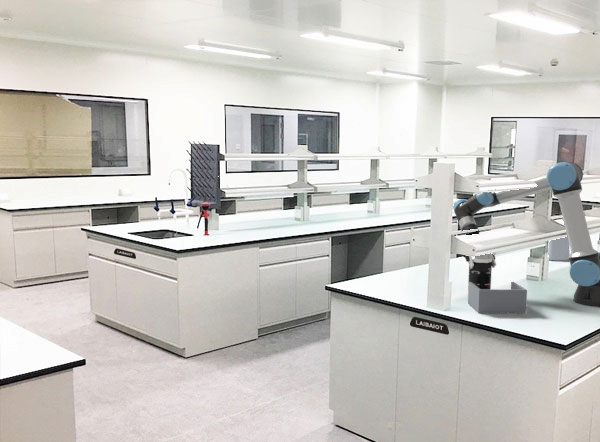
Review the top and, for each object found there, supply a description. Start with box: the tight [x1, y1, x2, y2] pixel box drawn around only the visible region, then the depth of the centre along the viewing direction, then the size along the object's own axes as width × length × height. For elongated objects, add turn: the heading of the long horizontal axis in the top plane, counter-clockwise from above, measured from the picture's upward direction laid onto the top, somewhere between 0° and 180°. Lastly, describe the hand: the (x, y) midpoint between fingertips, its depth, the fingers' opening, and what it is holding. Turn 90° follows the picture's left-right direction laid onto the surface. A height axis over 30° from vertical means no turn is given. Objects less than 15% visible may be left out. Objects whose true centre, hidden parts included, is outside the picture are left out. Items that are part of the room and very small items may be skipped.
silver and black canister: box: [467, 253, 492, 289], centre depth 259 cm, size 10×10×25 cm
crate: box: [467, 281, 528, 314], centre depth 244 cm, size 20×16×10 cm
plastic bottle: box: [548, 214, 571, 262], centre depth 358 cm, size 15×15×28 cm
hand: (483, 266), depth 256 cm, fingers closed on silver and black canister, 10 cm apart
